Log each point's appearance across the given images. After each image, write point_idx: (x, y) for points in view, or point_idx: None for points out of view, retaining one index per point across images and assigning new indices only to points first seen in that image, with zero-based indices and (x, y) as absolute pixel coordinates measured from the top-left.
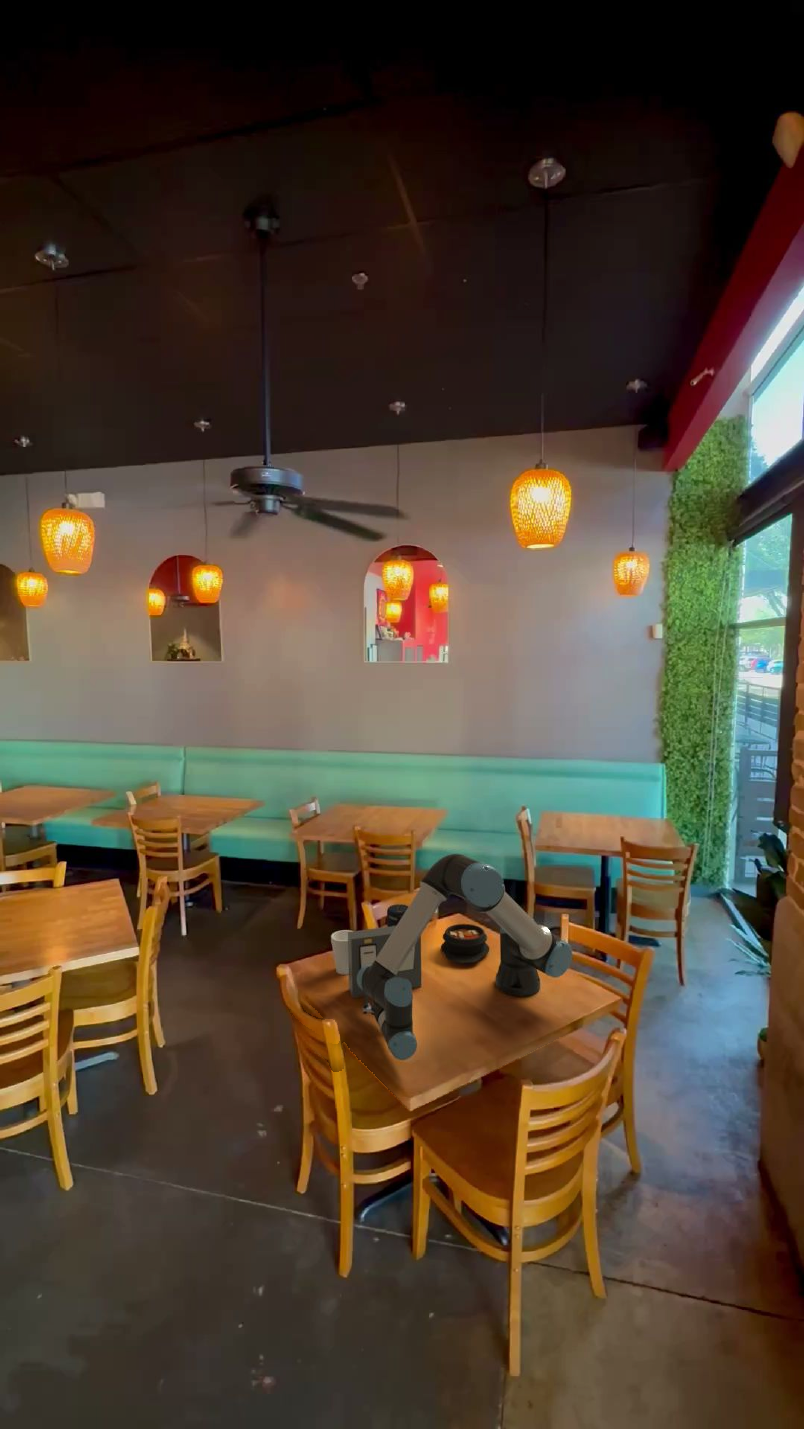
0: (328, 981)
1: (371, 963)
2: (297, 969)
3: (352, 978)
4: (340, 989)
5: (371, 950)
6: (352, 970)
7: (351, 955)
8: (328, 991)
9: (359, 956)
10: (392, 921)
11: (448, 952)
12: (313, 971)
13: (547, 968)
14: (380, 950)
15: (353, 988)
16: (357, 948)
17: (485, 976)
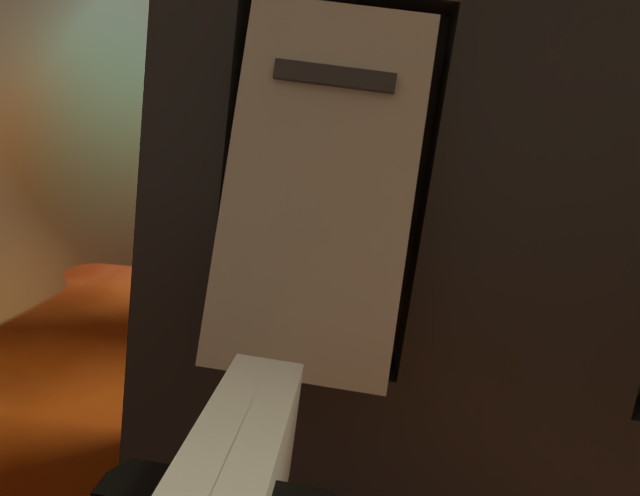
0: (119, 349)
1: (343, 214)
2: (70, 273)
3: (131, 336)
4: (119, 414)
5: (377, 62)
6: (138, 252)
7: (147, 82)
8: (31, 400)
9: None
10: None
11: None
12: (118, 295)
13: None
14: (491, 110)
15: (131, 437)
16: (219, 7)
17: None
